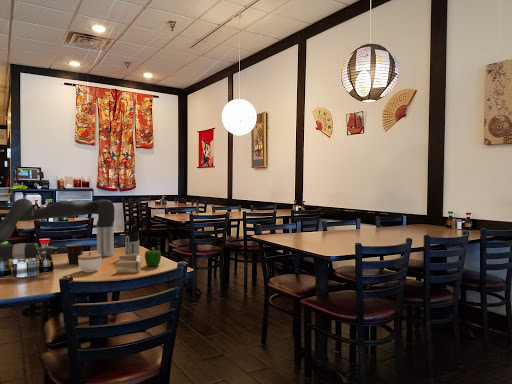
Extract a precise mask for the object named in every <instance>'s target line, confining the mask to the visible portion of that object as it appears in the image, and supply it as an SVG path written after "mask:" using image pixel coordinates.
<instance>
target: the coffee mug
mask: <svg viewBox="0 0 512 384" xmlns="http://www.w3.org/2000/svg"><path fill="white" fill-rule="evenodd" d="M84 246H85V244H84V243H69V244H65V247H66V253H67V260H68V261H67V262H68V265H79V263H78V256H79V255H83V254H84Z"/></svg>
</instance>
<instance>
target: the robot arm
mask: <svg viewBox="0 0 512 384" xmlns="http://www.w3.org/2000/svg"><path fill="white" fill-rule="evenodd" d="M115 211H116V210H115V204H114V203H113V201H111V200H109V199H99V200H98V199H97V200H91V201H81V200H62V201H61V200H59V201H56V202H53V203H51V204H49V205H46V206H44V207H39V208H34V207H33V202H32V201H31V200H29V199H27V198H19V199H17V200H15V201H14V202H13V204H12V205H11V207H10V209H9V211H8V213H7V214H6V215H5V217H3V220H2V221H1V222H0V259H1V260H30V259H29V258H36V259H38V257H39V255H40V256H46V255H54V254H57V253H67V247H66V246H65V247H63V246H62V247H60V246H59V247H58V246H53V245H48V246H47V245H43V246H42V245H41V246H40V247H39V243H38V242H29V243H28V242H24V243H14V244H13V243H12V244H9V243H8V244H7V243H6V242H7V241H8V239H9V238H10V237H11V235H12V234H13V232H14V230H15V228H16V226H17V224H18V222H29V221H37V220H45V219H46V220H47V219H58V218H60V219H61V218H75V217H79V216H84V215H98V216H97V217H98V219H97V222H96V253H97V254H101V255H102V257H111V256H113V255H114V251H115V250H114V249H115V248H114V247H115V245H114V223H115ZM3 242H5V243H6V244H5V243H4V244H1V243H3Z"/></svg>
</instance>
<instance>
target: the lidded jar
mask: <svg viewBox="0 0 512 384" xmlns="http://www.w3.org/2000/svg"><path fill="white" fill-rule="evenodd" d="M102 257H103V256H102V255H101V254H97V252H96V253H95V252H94V253H92V252H91V251H88V253H83V255H79V256H78V263H79V264H78V266H79V269H80V270H81V271H83V273H93V272H97V270H99V268H100V267H101V264H102Z"/></svg>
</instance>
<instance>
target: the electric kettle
mask: <svg viewBox="0 0 512 384" xmlns="http://www.w3.org/2000/svg"><path fill="white" fill-rule="evenodd" d="M124 234H125V235H124V239H125V240H124V255H134V254H140V232H139V231H137V230H132V231H131V230H129V231H125V233H124Z"/></svg>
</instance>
